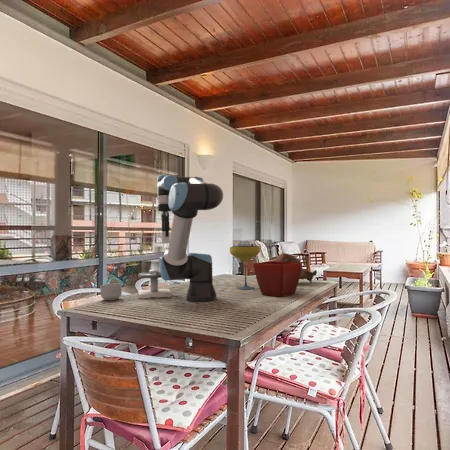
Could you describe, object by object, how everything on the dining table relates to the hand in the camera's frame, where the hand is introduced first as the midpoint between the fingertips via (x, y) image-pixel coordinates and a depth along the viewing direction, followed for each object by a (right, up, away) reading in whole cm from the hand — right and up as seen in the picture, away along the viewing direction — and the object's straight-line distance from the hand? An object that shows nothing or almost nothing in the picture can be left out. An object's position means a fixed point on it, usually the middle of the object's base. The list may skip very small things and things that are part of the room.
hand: (165, 243), depth 207 cm
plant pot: (+60, -27, -6) cm, 66 cm away
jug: (+76, -28, +38) cm, 89 cm away
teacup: (-27, -29, -7) cm, 40 cm away
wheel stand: (-7, -29, +4) cm, 30 cm away
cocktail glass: (+45, -28, +21) cm, 57 cm away
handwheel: (-7, -18, +4) cm, 20 cm away
